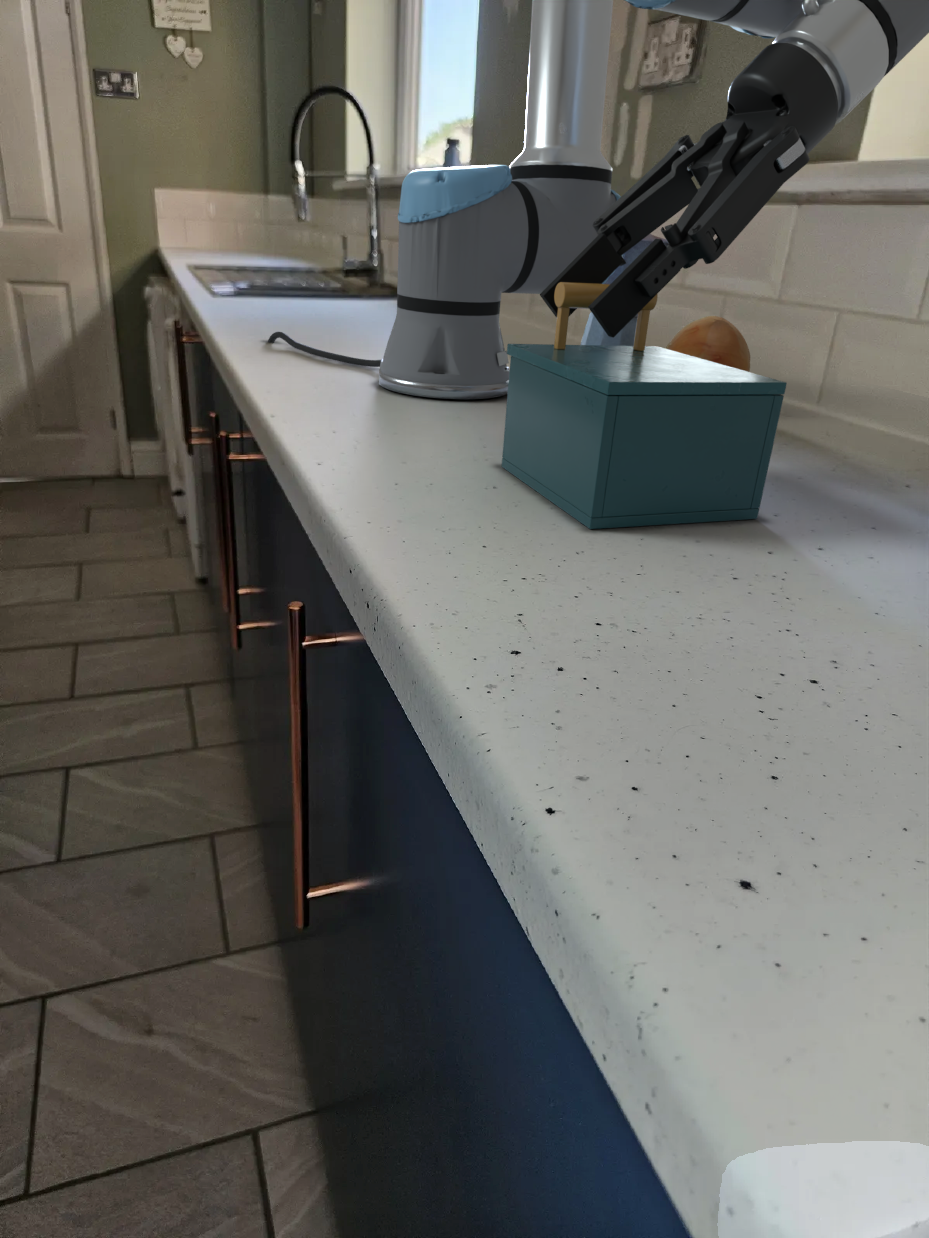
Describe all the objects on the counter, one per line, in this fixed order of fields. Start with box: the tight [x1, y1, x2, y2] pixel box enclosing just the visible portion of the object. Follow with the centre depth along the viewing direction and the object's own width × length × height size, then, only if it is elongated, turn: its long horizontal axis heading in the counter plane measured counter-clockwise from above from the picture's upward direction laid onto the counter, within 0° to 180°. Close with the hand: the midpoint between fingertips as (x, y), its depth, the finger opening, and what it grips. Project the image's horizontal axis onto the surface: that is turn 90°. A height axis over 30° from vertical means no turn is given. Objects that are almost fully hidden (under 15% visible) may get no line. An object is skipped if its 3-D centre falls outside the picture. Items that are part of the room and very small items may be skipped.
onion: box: [665, 315, 751, 372], centre depth 99 cm, size 10×10×10 cm
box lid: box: [506, 282, 787, 395], centre depth 62 cm, size 16×14×6 cm
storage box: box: [501, 356, 784, 530], centre depth 65 cm, size 16×14×9 cm
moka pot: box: [579, 233, 668, 346], centre depth 114 cm, size 10×15×20 cm, turn 78°
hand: (575, 315), depth 64 cm, fingers open, 7 cm apart
